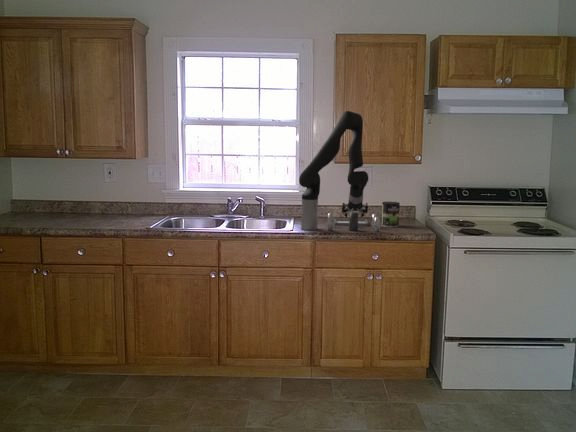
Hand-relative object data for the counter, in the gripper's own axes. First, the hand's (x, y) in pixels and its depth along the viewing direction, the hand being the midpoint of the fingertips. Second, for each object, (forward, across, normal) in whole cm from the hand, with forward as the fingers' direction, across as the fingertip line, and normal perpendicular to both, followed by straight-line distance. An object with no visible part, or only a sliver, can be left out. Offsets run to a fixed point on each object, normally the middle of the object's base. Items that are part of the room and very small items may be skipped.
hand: (354, 216), depth 307 cm
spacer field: (+11, 0, +1) cm, 11 cm away
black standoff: (+8, 0, +4) cm, 9 cm away
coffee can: (+21, -23, -8) cm, 32 cm away
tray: (+25, 0, -13) cm, 28 cm away
